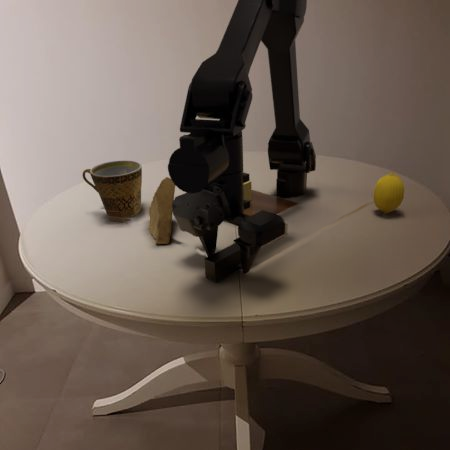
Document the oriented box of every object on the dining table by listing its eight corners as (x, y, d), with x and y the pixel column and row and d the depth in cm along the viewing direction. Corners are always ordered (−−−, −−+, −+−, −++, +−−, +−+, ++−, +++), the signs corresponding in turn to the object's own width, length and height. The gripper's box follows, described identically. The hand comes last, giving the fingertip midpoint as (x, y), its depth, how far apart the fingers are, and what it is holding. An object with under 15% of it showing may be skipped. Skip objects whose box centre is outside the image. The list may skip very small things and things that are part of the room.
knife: (215, 283, 72) (214, 263, 70) (205, 278, 74) (203, 258, 72) (291, 240, 83) (292, 222, 81) (281, 237, 85) (281, 219, 83)
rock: (179, 237, 81) (200, 208, 88) (145, 199, 78) (169, 173, 85) (143, 261, 88) (165, 233, 95) (110, 228, 85) (135, 201, 92)
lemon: (367, 209, 94) (372, 169, 89) (394, 207, 94) (400, 167, 89) (376, 220, 89) (382, 179, 85) (405, 217, 89) (412, 176, 85)
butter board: (222, 185, 109) (222, 181, 109) (298, 207, 96) (299, 203, 95) (177, 203, 101) (176, 199, 101) (253, 230, 88) (253, 225, 87)
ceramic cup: (156, 208, 99) (150, 161, 94) (134, 228, 91) (125, 177, 86) (103, 203, 103) (94, 158, 98) (77, 222, 95) (66, 173, 90)
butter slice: (246, 198, 99) (246, 179, 97) (251, 199, 98) (251, 181, 96) (230, 205, 96) (229, 186, 94) (235, 207, 95) (234, 188, 93)
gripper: (138, 171, 67) (152, 266, 76) (231, 200, 56) (235, 308, 65) (194, 153, 74) (202, 242, 82) (289, 176, 62) (286, 276, 71)
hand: (228, 265), depth 75 cm, fingers open, 7 cm apart
